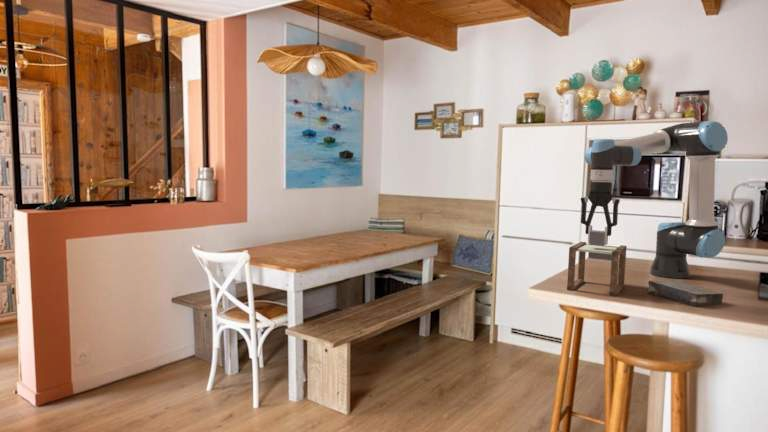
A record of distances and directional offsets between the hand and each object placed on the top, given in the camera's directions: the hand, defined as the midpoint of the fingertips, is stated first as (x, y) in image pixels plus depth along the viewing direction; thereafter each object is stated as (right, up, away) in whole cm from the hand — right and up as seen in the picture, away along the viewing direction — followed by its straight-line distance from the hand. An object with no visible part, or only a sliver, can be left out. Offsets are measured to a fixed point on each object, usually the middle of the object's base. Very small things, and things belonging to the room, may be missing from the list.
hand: (597, 243), depth 197 cm
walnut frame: (+1, -17, +3) cm, 17 cm away
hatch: (+3, -7, +5) cm, 9 cm away
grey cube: (0, 0, 0) cm, 0 cm away
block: (+27, -20, -10) cm, 34 cm away
